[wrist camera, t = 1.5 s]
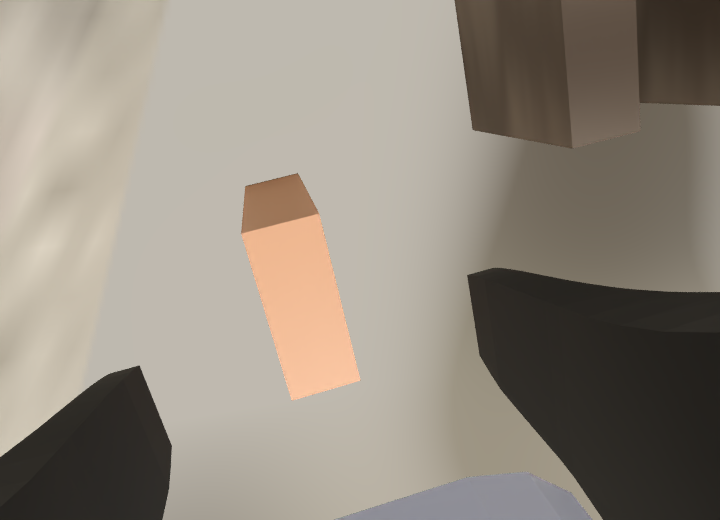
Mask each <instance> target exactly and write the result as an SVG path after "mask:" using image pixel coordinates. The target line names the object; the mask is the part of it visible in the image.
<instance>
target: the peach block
mask: <svg viewBox="0 0 720 520" xmlns="http://www.w3.org/2000/svg"><path fill="white" fill-rule="evenodd" d="M241 234H242V238H243V241H244V244H245V247H246V251H247V254H248V257H249V261H250V264H251V267H252V270H253V274H254V277H255V281H256V284H257V287H258V290H259V294H260V297H261V300H262V304H263V307H264V310H265V314H266V317H267V320H268V323H269V327H270V330H271V333H272V336H273V340H274V343H275V347H276V350H277V353H278V356H279V359H280V363H281V366H282V370H283V373H284V376H285V380H286V383H287V385H288V390H289V393H290V396H291V399H292V400H296V399H299V398H303V397H306V396H309V395H313V394H316V393H319V392H323V391H326V390H330V389H333V388H337V387H340V386H343V385H347V384H350V383H353V382H357V381H360V377H359V373H358V369H357V365H356V361H355V357H354V353H353V349H352V344H351V341H350V336H349V333H348V329H347V324H346V320H345V317H344V312H343V308H342V304H341V300H340V296H339V292H338V288H337V284H336V280H335V276H334V272H333V268H332V264H331V260H330V256H329V252H328V248H327V244H326V240H325V235H324V231H323V227H322V223H321V219H320V216H319V213H318V211H317V209H316V207H315V205H314V203H313V201H312V199H311V197H310V196H309V194H308V192H307V190H306V188H305V186H304V184H303V182H302V180H301V178H300V176H299V175H298V173H297V174H293V175H289V176H285V177H281V178H277V179H273V180H269V181H265V182H261V183H257V184H252V185H248V186H246V187H245V197H244V208H243V220H242V231H241Z"/></svg>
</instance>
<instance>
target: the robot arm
mask: <svg viewBox="0 0 720 520" xmlns="http://www.w3.org/2000/svg"><path fill="white" fill-rule="evenodd" d="M467 276H468V283H469V289H470V296H471V302H472V309H473V315H474V321H475V328H476V334H477V341H478V347H479V354H480V357H481V358H482V360H483V362H484V363H485V365H486V367H487V368H488V370H489V372H490V373H491V375H492V376H493V378H494V380H495V381H496V382H497V384H498V386H499V387H500V389H501V390H502V391H503V393H504V394H505V395H506V396H507V397H508V399H509V400H510V401H511V402H512V403H513V405H514V406H515V407H516V408H517V409H518V411H519V412H520V413H521V414H522V415H523V416H524V418H525V419H526V420H527V421H528V422H529V423H530V425H531V426H532V427H533V428H534V429H535V430H536V432H537V433H538V434H539V435H540V436H541V437H542V439H543V440H544V441H545V442H546V443H547V444H548V445H549V447H550V448H551V449H552V450H553V451H554V453H555V454H556V455H557V456H558V457H559V458H560V459H561V461H562V462H563V463H564V465H565V466H566V467H567V468H568V470H569V471H570V472H571V474H572V475H573V476H574V478H575V479H576V480H577V482H578V483H579V485H580V486H581V488H582V489H583V491H584V492H585V493H586V495H587V496H588V498H589V499H590V501H591V502H592V504H593V505H594V507H595V508H596V510H597V511H598V513H599V514H600V516H601V517H602V519H603V520H720V292H688V293H687V292H663V291H648V290H633V289H623V288H615V287H608V286H601V285H593V284H586V283H581V282H575V281H569V280H563V279H558V278H553V277H548V276H543V275H538V274H533V273H528V272H523V271H517V270H511V269H504V268H492V269H488V270H484V271H481V272H477V273H474V274H470V275H467ZM171 449H172V445H171V443H170V440H169V438H168V436H167V433H166V430H165V428H164V426H163V423H162V421H161V418H160V416H159V413H158V411H157V408H156V406H155V403H154V401H153V398H152V396H151V393H150V391H149V388H148V386H147V383H146V381H145V379H144V376H143V374H142V371H141V369H140V366H136V367H132V368H129V369H125V370H122V371H118V372H114V373H111V374H108V375H107V376H105V377H103V378H102V379H100V380H98V381H97V382H96V383H94V384H93V385H91V386H90V387H89V388H88V389H86V390H85V391H84V392H82V393H81V394H80V395H79V396H77V397H76V398H75V399H74V400H72V401H71V402H70V403H69V404H67V405H66V406H65V407H64V408H63V409H61V410H60V411H59V412H58V413H56V414H55V415H54V416H53V417H51V418H50V419H49V420H48V421H47V422H45V423H44V424H43V425H42V426H40V427H39V428H38V429H37V430H35V431H34V432H33V433H31V434H30V435H29V436H28V437H26V438H25V439H24V440H22V441H21V442H20V443H18V444H17V445H16V446H14V447H13V448H12V449H11V450H9V451H8V452H7V453H5V454H4V455H3V456H1V457H0V520H162V518H163V514H164V509H165V505H166V500H167V495H168V490H169V481H170V468H171ZM335 520H592V518H591V517H590V516H589V515H588V513H587V512H586V511H585V509H584V508H583V507H582V506H581V504H580V503H579V502H578V501H577V499H576V498H575V497H574V496H573V494H572V493H571V492H569V491H567V490H565V489H562V488H560V487H558V486H556V485H554V484H552V483H550V482H548V481H546V480H543V479H541V478H539V477H537V476H535V475H533V474H531V473H529V472H518V473H507V474H496V475H485V476H476V477H475V476H474V477H466V478H463V479H460V480H457V481H454V482H451V483H448V484H444V485H441V486H439V487H435V488H432V489H429V490H426V491H423V492H420V493H416V494H413V495H410V496H407V497H404V498H401V499H397V500H394V501H391V502H388V503H385V504H382V505H379V506H375V507H372V508H369V509H366V510H363V511H360V512H357V513H354V514H350V515H347V516H344V517H341V518H338V519H335Z"/></svg>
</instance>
